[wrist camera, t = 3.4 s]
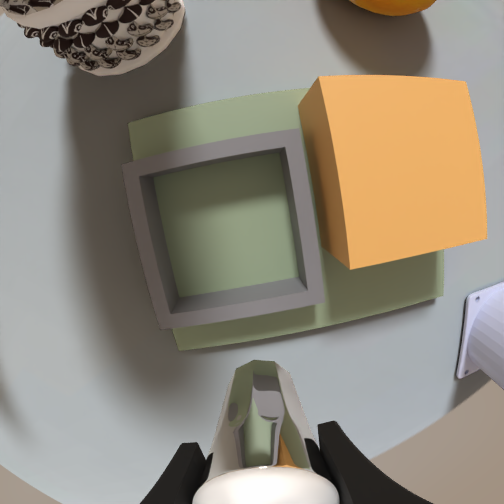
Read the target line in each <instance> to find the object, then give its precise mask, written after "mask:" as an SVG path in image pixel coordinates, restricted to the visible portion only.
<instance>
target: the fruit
mask: <svg viewBox="0 0 504 504" xmlns="http://www.w3.org/2000/svg"><path fill="white" fill-rule="evenodd" d="M349 1H351V2H352V3H354V4H355V5H357V6H359V7H361V8H364V9H366V10H368V11H371V12H374V13H379V14H383V15H389V16H403V15H408V14H412V13H416V12H419V11H423V10H425V9H427V8H428V7H430V6H431V5H432V4H433V3H434V2H435V1H436V0H349Z"/></svg>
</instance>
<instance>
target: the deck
mask: <svg viewBox="0 0 504 504" xmlns="http://www.w3.org/2000/svg"><path fill="white" fill-rule="evenodd" d="M128 129H129V136H130V143H131V150H132V156H133V161H132V162H128V163H124V164H121V167H122V173H123V178H124V184H125V190H126V195H127V200H128V205H129V210H130V215H131V220H132V225H133V229H134V234H135V238H136V243H137V247H138V251H139V255H140V259H141V264H142V267H143V271H144V275H145V279H146V283H147V287H148V290H149V294H150V297H151V301H152V305H153V308H154V311H155V315H156V318H157V321H158V325H159V328H160V330H165V329H172V331H173V334H174V338H175V341H176V344H177V347H178V350H179V351H183V350H191V349H199V348H207V347H214V346H221V345H228V344H234V343H241V342H247V341H253V340H259V339H265V338H270V337H276V336H281V335H287V334H292V333H297V332H302V331H307V330H312V329H316V328H321V327H326V326H330V325H335V324H339V323H344V322H348V321H352V320H356V319H360V318H365V317H369V316H373V315H377V314H380V313H384V312H388V311H392V310H396V309H399V308H403V307H406V306H410V305H414V304H417V303H420V302H424V301H427V300H431V299H434V298H437V297H440V296H443V290H444V249H447V248H451V247H455V246H459V245H463V244H467V243H471V242H475V241H479V240H483V239H487V214H486V197H485V185H484V175H483V166H482V158H481V151H480V145H479V139H478V133H477V128H476V123H475V118H474V113H473V109H472V104H471V100H470V96H469V92H468V88H467V84H466V82H464V81H457V80H449V79H440V78H429V77H415V76H396V75H340V76H320V77H318V78H317V79H316V81H315V82H314V84H313V85H312V86H311V88H304V89H294V90H285V91H276V92H268V93H261V94H254V95H248V96H241V97H235V98H230V99H224V100H219V101H214V102H209V103H204V104H199V105H195V106H190V107H186V108H181V109H177V110H173V111H169V112H165V113H161V114H158V115H154V116H150V117H147V118H143V119H140V120H136V121H133V122H129V123H128Z"/></svg>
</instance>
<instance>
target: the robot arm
mask: <svg viewBox="0 0 504 504" xmlns="http://www.w3.org/2000/svg"><path fill="white" fill-rule="evenodd" d="M476 297H477V299H476ZM475 299H476V300H475ZM480 369H481V370H482V371H483V372H484V373H486V374H487V375H488V376H489V377H490V378H491V379H492V380H493V381H494V382H496V383H497V384H498V385H499V386H500V387H501V388H502V389H503V390H504V282H501V283H499V284H496V285H494V286H491V287H488V288H485V289H483V290H480V291H477V292H474V293H472V294H470V295H469V296H468V297H467V300H466V310H465V320H464V329H463V337H462V344H461V351H460V357H459V363H458V368H457V374H456V376H457V377H458V378H459V379H461V378H463V377H465V376H467V375H470V374H472V373H474V372H476V371H478V370H480ZM318 435H319V445H320V452H321V455H322V457H323V459H324V461H325V464H326V466H327V468H328V471H329V473H330V475H331V478H332V480H333V482H334V485H335V487H336V489H337V491H338V494H339V504H433V503H431V502H429V501H427V500H425V499H423V498H421V497H419V496H417V495H415V494H413V493H412V492H410V491H408V490H407V489H405V488H404V487H402V486H401V485H399V484H398V483H396V482H395V481H393V480H392V479H391V478H389V477H388V476H386V475H385V474H384V473H383V472H382V471H380V470H379V469H378V468H377V467H376V466H375V465H374V464H373V463H372V462H370V461H369V460H368V459H367V458H366V457H365V456H364V455H363V454H362V453H361V452H360V451H359V450H358V448H357V447H356V446H355V445H354V444H353V443H352V442H351V441H350V439H349V438H348V437H347V436H346V434H345V433H344V432H343V430H342V429H341V428H340V426H339V425H338V423H337V422H336V421H330V422H326V423H322V424H318ZM205 462H206V459H205V457H204V455H203V453H202V451H201V449H200V447H199V445H198V443H197V442H195V443H182V444H181V445H180V447H179V448H178V450H177V452H176V453H175V455H174V457H173V458H172V460H171V461H170V463H169V465H168V466H167V468H166V469H165V471H164V472H163V474H162V475H161V477H160V478H159V480H158V481H157V482H156V484H155V485H154V487H153V488H152V489H151V490H150V492H149V493H148V494H147V496H146V497H145V498H144V499H143V500H142V502H141V503H140V504H192V503H193V498H194V495H195V492H196V489H197V486H198V483H199V480H200V477H201V474H202V471H203V468H204V465H205Z"/></svg>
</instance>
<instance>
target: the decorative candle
mask: <svg viewBox="0 0 504 504" xmlns="http://www.w3.org/2000/svg"><path fill="white" fill-rule="evenodd" d="M0 6H1V7H2V8H3V10H4V11H5V13H6V15H7V17H9V18H11V19H12V20H14V21H16V22H17V24H18V26H19V27H21V28H25V30H24V35H25V36H26V37H27V38H34V37H39V39H40V45H41V46H42V47H49V46H50V47H51V48H53V49H54V53H55V55H56V56H57V57H59V58H66V59H67V62H68V63H69V64H70V65H73V66H78V67H79V68H80V69H81V70H84V71H86V72H89V73H92V74H94V75H97V76H107V75H121V74H124V73H126V72H128V71H131V70H133V69H136V68H138V67H140V66H143V65H145V64H147V63H148V62H149V61H150V60H152V59H153V58H154V57H156V56H157V55H158V54H159V53H161V52H162V51H163V50H165V49H166V48H167V47H168V45H169V44H170V43H171V41H172V40H173V38H174V37H175V36H176V34H177V33H178V31H179V30H180V29H181V25H182V21H183V17H184V13H185V7H184V3H183V0H0Z"/></svg>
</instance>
